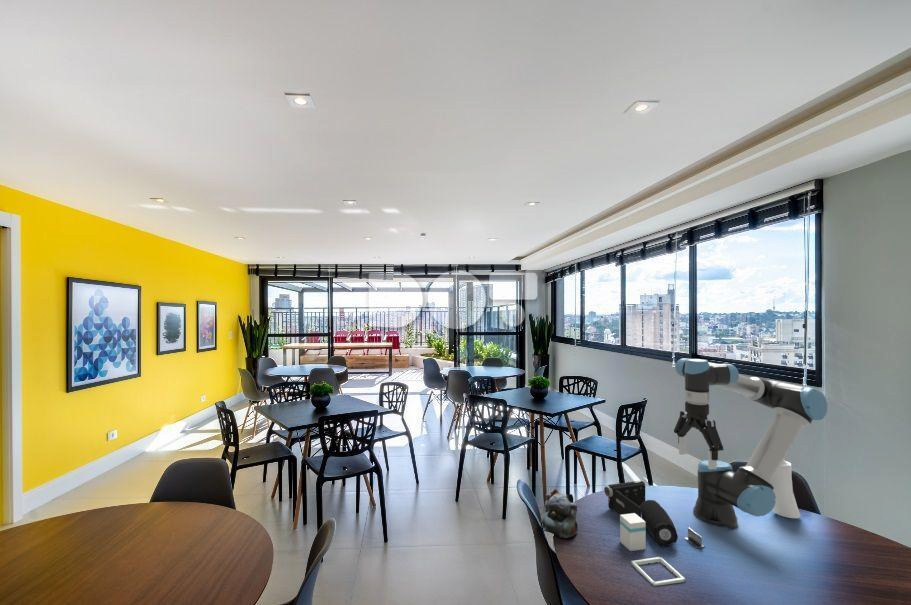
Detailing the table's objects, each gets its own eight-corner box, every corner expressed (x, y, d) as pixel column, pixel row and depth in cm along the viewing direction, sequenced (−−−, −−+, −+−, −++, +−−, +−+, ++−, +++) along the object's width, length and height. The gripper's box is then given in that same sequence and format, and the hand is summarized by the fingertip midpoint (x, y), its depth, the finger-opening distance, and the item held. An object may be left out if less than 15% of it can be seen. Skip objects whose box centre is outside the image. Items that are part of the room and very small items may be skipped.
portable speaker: (683, 529, 142) (665, 503, 161) (655, 519, 144) (641, 494, 163) (676, 552, 142) (659, 523, 161) (648, 542, 144) (635, 514, 163)
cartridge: (634, 540, 148) (634, 512, 148) (645, 550, 142) (645, 521, 142) (619, 542, 147) (619, 514, 147) (630, 552, 141) (630, 523, 141)
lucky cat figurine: (533, 526, 157) (535, 489, 158) (553, 517, 165) (554, 483, 165) (565, 544, 145) (566, 505, 146) (585, 534, 153) (586, 497, 153)
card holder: (691, 537, 149) (691, 527, 149) (704, 547, 143) (704, 536, 143) (684, 538, 149) (684, 528, 149) (697, 548, 143) (697, 537, 143)
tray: (660, 562, 135) (660, 556, 135) (685, 584, 125) (685, 578, 125) (631, 566, 133) (631, 560, 133) (653, 590, 122) (653, 583, 122)
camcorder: (603, 506, 173) (603, 483, 173) (640, 501, 177) (640, 478, 177) (636, 532, 153) (636, 506, 153) (676, 525, 158) (675, 499, 158)
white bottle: (791, 522, 159) (790, 459, 159) (760, 510, 169) (759, 450, 169) (804, 514, 165) (804, 453, 165) (773, 503, 174) (773, 445, 174)
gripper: (663, 395, 158) (663, 449, 158) (716, 412, 133) (716, 476, 133) (680, 394, 159) (680, 448, 159) (735, 410, 135) (736, 474, 135)
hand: (697, 461), depth 146 cm, fingers open, 13 cm apart
